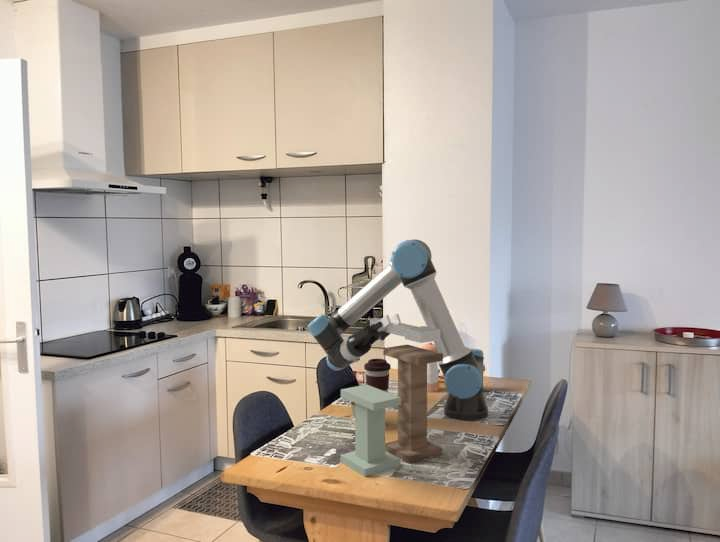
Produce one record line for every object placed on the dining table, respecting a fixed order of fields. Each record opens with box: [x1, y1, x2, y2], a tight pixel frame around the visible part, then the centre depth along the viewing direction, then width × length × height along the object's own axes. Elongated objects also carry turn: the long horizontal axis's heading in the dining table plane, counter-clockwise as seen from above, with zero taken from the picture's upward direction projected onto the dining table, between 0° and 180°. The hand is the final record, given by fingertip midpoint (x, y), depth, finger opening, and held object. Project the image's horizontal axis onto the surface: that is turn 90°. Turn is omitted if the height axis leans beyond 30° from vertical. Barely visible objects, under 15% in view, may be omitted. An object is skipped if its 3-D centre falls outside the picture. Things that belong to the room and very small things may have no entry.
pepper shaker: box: [421, 341, 440, 393], centre depth 242 cm, size 7×7×19 cm
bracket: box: [369, 317, 440, 344], centre depth 178 cm, size 27×7×3 cm, turn 34°
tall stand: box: [382, 344, 443, 465], centre depth 176 cm, size 16×12×30 cm
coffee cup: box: [363, 358, 391, 393], centre depth 229 cm, size 10×10×15 cm
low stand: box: [340, 384, 402, 477], centre depth 168 cm, size 16×12×20 cm
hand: (393, 318), depth 181 cm, fingers closed on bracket, 3 cm apart
